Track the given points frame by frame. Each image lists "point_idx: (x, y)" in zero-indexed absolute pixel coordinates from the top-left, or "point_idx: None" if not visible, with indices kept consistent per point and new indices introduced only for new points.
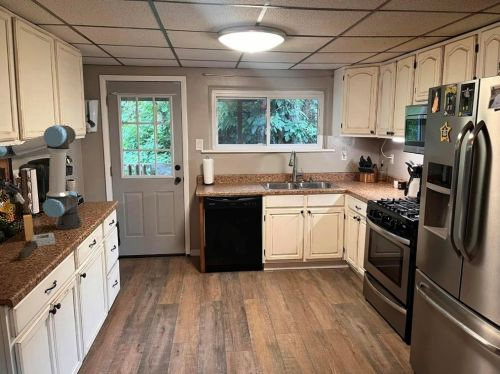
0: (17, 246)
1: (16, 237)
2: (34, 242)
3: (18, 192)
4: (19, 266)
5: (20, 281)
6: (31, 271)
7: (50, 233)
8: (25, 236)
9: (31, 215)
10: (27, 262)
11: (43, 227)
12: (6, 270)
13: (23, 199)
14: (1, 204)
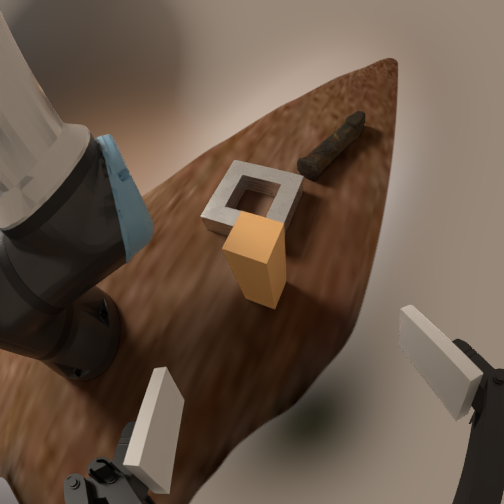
0: (336, 236)
1: (289, 368)
2: (304, 159)
3: (122, 473)
4: (370, 107)
5: (377, 72)
6: (356, 82)
7: (212, 212)
8: (276, 300)
9: (235, 223)
10: (352, 112)
11: (135, 419)
12: (393, 108)
13: (152, 382)
14: (409, 314)
